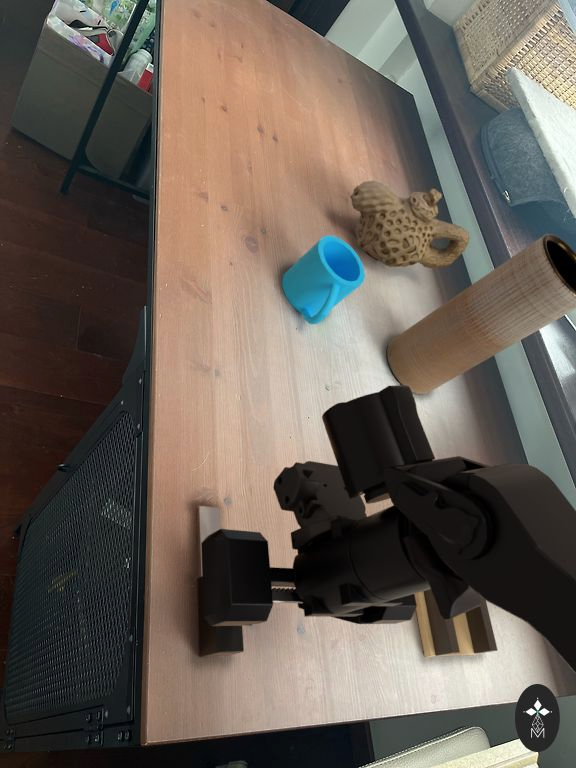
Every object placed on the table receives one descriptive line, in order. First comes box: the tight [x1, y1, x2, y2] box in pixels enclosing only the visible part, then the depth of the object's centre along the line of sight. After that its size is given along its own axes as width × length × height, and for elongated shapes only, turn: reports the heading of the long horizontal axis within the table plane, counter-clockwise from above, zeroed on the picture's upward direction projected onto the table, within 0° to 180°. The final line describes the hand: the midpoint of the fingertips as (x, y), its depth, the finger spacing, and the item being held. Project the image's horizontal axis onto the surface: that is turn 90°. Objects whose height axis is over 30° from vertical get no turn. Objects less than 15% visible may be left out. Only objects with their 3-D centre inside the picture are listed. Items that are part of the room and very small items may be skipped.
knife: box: [196, 505, 245, 658], centre depth 59 cm, size 14×3×3 cm, turn 7°
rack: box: [415, 589, 498, 658], centre depth 75 cm, size 10×8×4 cm
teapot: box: [349, 180, 470, 269], centre depth 100 cm, size 21×12×15 cm, turn 81°
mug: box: [281, 235, 366, 325], centre depth 85 cm, size 12×8×8 cm
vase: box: [386, 233, 576, 396], centre depth 86 cm, size 10×10×28 cm
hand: (256, 601), depth 53 cm, fingers open, 9 cm apart
